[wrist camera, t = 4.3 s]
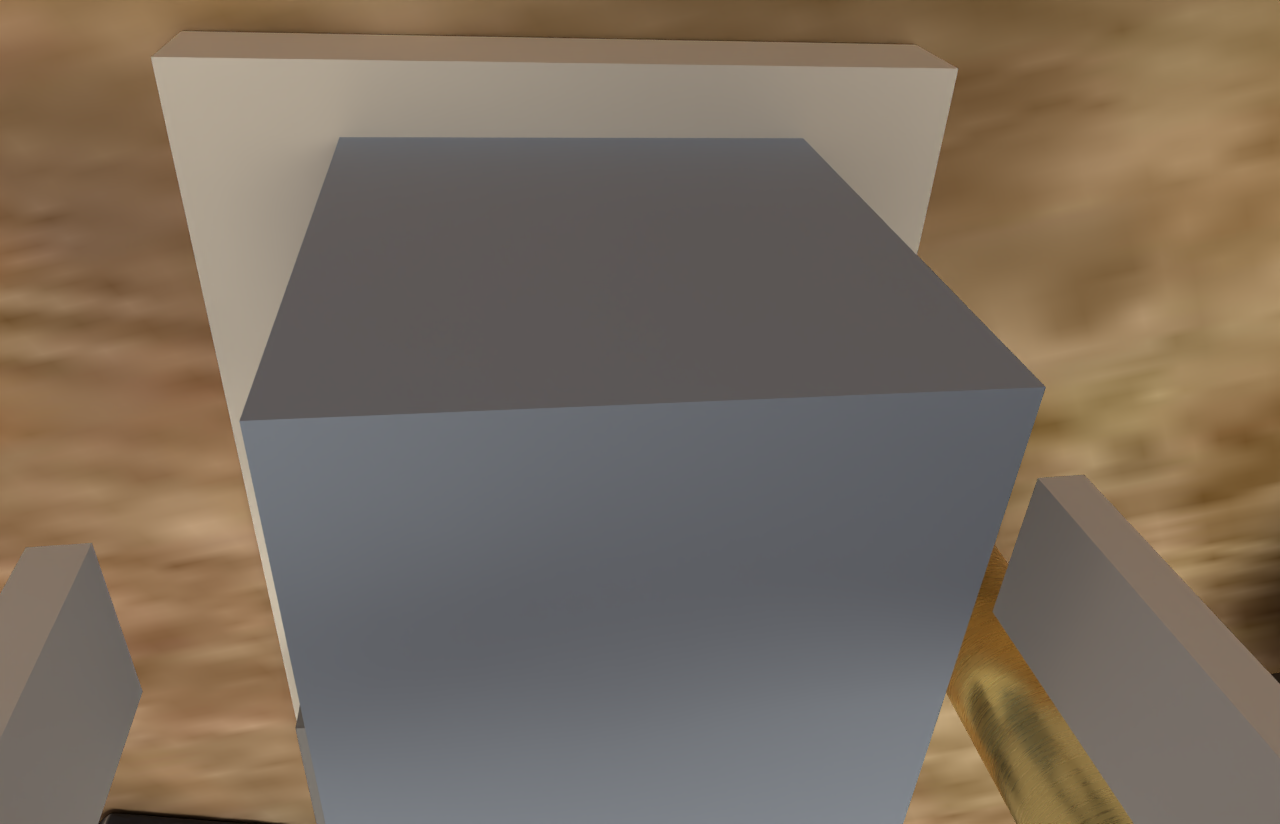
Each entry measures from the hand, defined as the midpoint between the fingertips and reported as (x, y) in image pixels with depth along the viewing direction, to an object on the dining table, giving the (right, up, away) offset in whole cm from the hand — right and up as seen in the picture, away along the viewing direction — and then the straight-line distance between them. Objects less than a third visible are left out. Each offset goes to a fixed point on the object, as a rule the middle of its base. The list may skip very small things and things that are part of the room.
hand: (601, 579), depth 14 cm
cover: (-1, +4, +6) cm, 7 cm away
